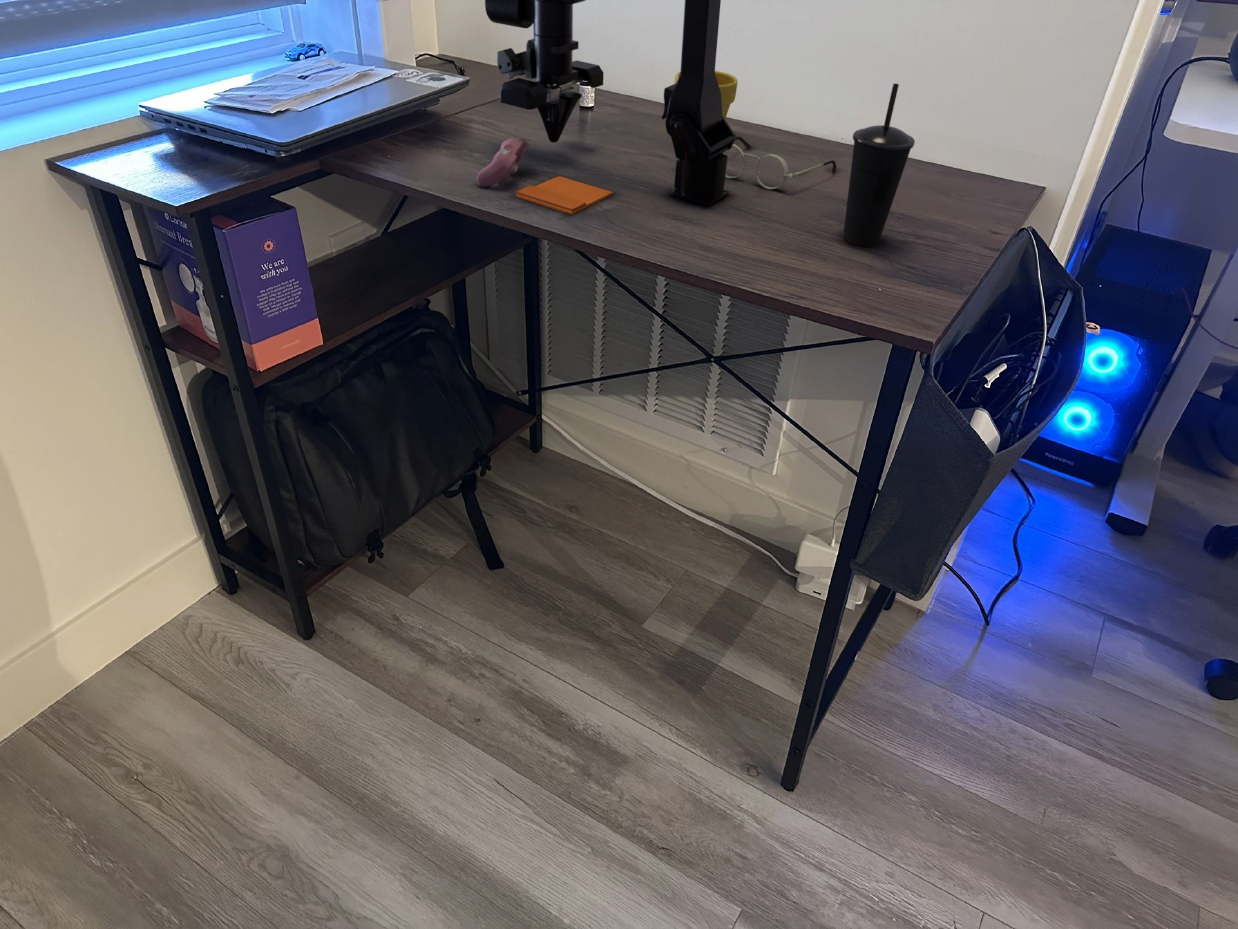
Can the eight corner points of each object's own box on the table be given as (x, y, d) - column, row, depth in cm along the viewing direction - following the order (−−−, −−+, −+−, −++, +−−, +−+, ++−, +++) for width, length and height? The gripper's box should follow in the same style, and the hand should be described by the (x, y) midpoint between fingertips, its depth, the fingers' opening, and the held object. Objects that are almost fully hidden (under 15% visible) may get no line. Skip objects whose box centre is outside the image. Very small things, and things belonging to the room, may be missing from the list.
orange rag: (612, 194, 128) (613, 189, 128) (571, 214, 121) (571, 209, 121) (558, 178, 132) (558, 173, 132) (516, 197, 126) (515, 191, 125)
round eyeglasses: (699, 170, 138) (702, 137, 135) (746, 146, 148) (750, 116, 145) (796, 197, 130) (802, 163, 127) (839, 170, 140) (845, 139, 137)
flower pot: (730, 129, 155) (737, 70, 149) (730, 148, 147) (738, 87, 141) (672, 125, 155) (676, 66, 149) (669, 144, 147) (673, 82, 141)
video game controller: (500, 200, 128) (520, 160, 124) (472, 183, 128) (491, 142, 123) (518, 177, 136) (537, 138, 132) (492, 161, 135) (510, 122, 131)
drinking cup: (899, 240, 119) (939, 85, 107) (872, 256, 115) (910, 96, 102) (850, 223, 123) (883, 72, 111) (822, 238, 119) (852, 82, 106)
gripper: (548, 15, 138) (549, 117, 147) (468, 34, 125) (475, 145, 135) (606, 26, 133) (603, 131, 142) (529, 48, 120) (531, 161, 130)
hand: (553, 141), depth 138 cm, fingers closed
